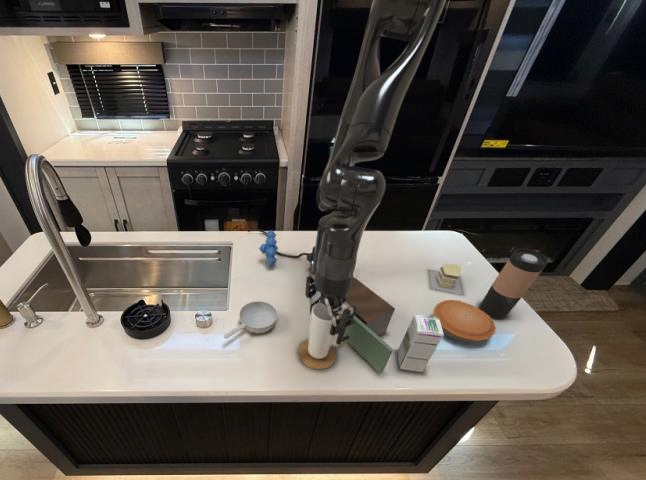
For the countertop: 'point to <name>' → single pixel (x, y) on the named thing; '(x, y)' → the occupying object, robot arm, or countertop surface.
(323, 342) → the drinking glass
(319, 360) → the cork mat
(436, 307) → the pie
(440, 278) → the stacked layers on plate
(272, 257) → the grapes
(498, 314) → the travel mug
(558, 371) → the countertop surface
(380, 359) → the cupboard door
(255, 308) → the grey frying pan
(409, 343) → the syrup box
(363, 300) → the cupboard
